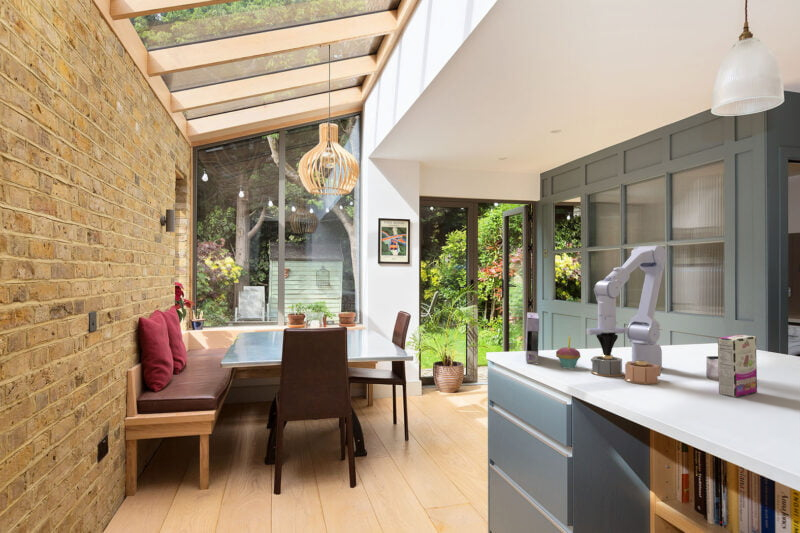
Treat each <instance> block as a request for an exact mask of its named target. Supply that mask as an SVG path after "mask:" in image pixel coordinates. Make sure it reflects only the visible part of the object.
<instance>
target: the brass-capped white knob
mask: <svg viewBox="0 0 800 533" xmlns="http://www.w3.org/2000/svg"><path fill="white" fill-rule="evenodd" d="M635 366H638V367H648V361H644V360H635Z"/></svg>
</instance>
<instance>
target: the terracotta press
mask: <svg viewBox="0 0 800 533" xmlns="http://www.w3.org/2000/svg"><path fill="white" fill-rule="evenodd" d="M624 366H625V367H624V371H625V372H624V375H625V376H623V380H624V381H625V382H627V383H631V384H635V385H636V384H637V385H647V386H649V385H658V384H660V383H661V382H660V379H658V378H659V377H661V369H660V365H655V364H651V363H648V367H638V366H635V362H632V360H631V361H627V362H626V363H625V365H624Z"/></svg>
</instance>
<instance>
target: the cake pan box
mask: <svg viewBox="0 0 800 533" xmlns="http://www.w3.org/2000/svg"><path fill="white" fill-rule="evenodd" d="M525 324H526V326H525V327H526V328H525V329H526V330H525V360H526V361H525V363H526V362H527V363H526V364H531V363H538V364H539V332H540V317H539V314H538V313H537V312H526V323H525Z"/></svg>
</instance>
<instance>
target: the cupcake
mask: <svg viewBox="0 0 800 533" xmlns="http://www.w3.org/2000/svg"><path fill="white" fill-rule="evenodd" d="M567 339H568V340H567V347H565V346H564V347H561V348H559V349H558V350H556V351H555V352H556V353H555V355H556V356H555V357H556V358H558V360H559V362H560V365H561V367H562V368H564V369H574V368H576V366H577V363H578V361H579V359H580V358H581V353H580V351H579V350H577V349H576V348H573V347H571V335H570V334H569V335H568V338H567Z"/></svg>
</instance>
